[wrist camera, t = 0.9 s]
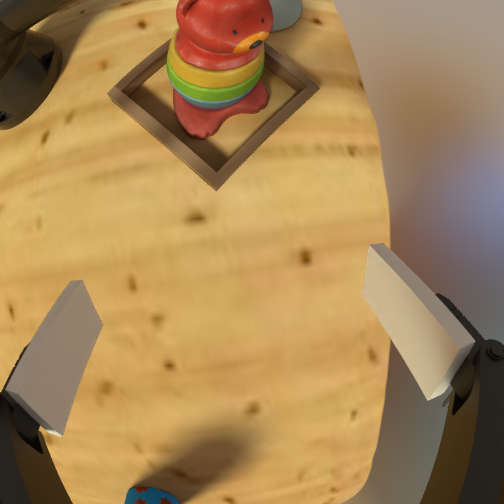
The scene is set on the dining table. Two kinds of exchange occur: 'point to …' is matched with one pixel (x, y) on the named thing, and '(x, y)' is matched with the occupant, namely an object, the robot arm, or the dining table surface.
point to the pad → (285, 13)
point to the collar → (212, 178)
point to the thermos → (149, 496)
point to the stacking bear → (218, 61)
